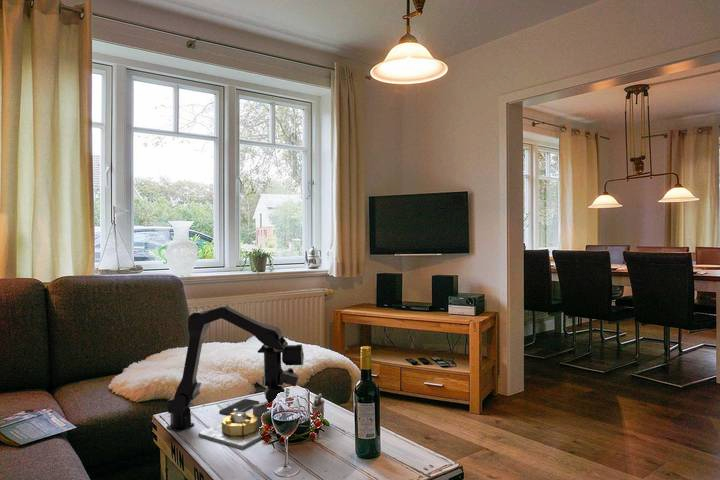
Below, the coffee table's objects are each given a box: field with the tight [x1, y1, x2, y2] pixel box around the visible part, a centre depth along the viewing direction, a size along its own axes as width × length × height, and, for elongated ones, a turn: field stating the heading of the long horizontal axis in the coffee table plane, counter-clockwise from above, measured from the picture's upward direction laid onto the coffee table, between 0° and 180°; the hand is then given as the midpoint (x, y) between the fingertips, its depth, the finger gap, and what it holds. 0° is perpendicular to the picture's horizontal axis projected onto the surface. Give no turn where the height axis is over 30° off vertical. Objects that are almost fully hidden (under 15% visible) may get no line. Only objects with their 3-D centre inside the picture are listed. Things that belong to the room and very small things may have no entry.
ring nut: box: [221, 400, 269, 435], centre depth 162 cm, size 18×11×6 cm, turn 134°
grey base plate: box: [198, 408, 262, 450], centre depth 160 cm, size 19×18×6 cm
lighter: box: [311, 393, 325, 420], centre depth 166 cm, size 8×3×10 cm, turn 168°
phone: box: [218, 398, 260, 416], centre depth 182 cm, size 8×1×15 cm
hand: (273, 411), depth 164 cm, fingers closed
